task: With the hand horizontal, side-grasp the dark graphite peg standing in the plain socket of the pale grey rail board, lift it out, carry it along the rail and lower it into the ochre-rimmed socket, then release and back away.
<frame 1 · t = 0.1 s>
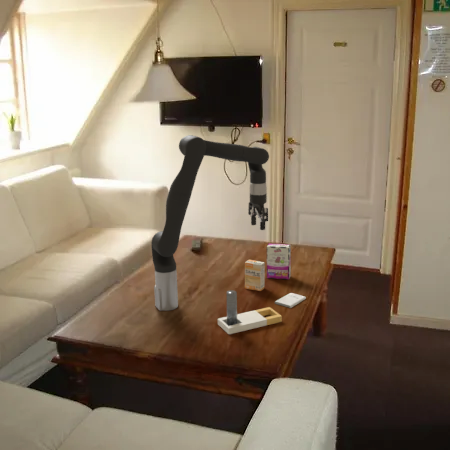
hand: (258, 227, 262), 29 cm above the table, tool pointing down, fingers open, 8 cm apart
peg: (232, 327, 232), resting in rail
external hard drive: (290, 302, 255), on the table
rail: (249, 323, 235), on the table
candy bar box: (278, 277, 283), on the table
supplement box: (254, 288, 270), on the table
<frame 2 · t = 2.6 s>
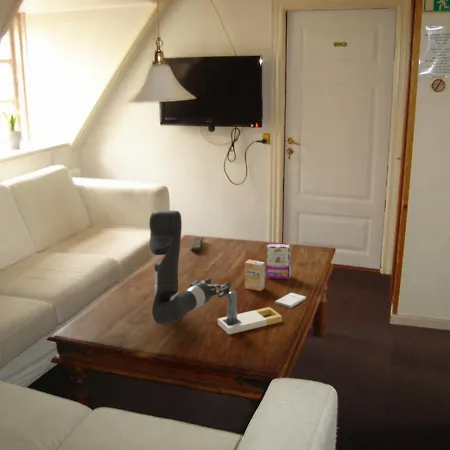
hand: (219, 282, 218), 22 cm above the table, tool horizontal, fingers open, 8 cm apart
nothing on the table moved.
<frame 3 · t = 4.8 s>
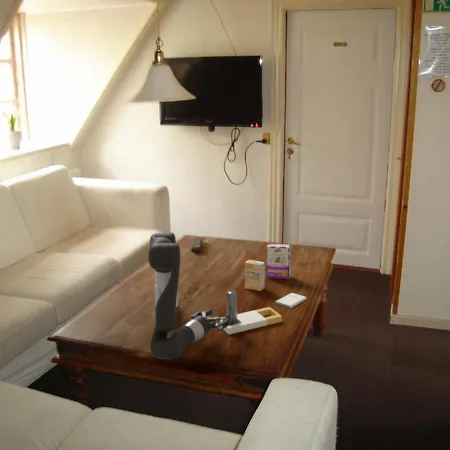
hand: (220, 313, 223), 9 cm above the table, tool horizontal, fingers open, 8 cm apart
nothing on the table moved.
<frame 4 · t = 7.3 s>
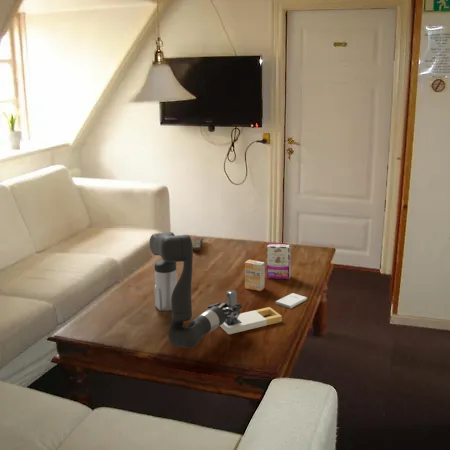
hand: (235, 303, 231), 9 cm above the table, tool horizontal, fingers closed on peg, 4 cm apart
peg: (232, 327, 232), resting in rail, touching gripper
everything else where it was.
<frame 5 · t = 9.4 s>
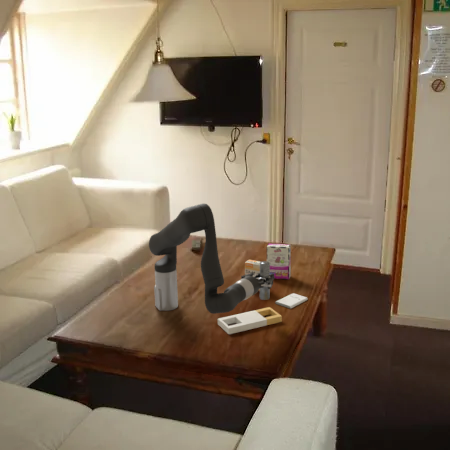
hand: (268, 274, 234), 19 cm above the table, tool horizontal, fingers closed on peg, 4 cm apart
peg: (264, 297, 234), point 10 cm above the table, touching gripper
everything else where it was.
when the fingers open (10 cm above the table, at t = 11.9 s): peg drops 1 cm, resting in rail.
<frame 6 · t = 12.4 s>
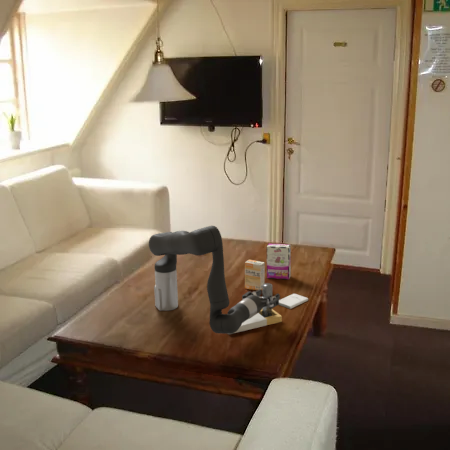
hand: (269, 293, 237), 11 cm above the table, tool horizontal, fingers open, 8 cm apart
peg: (267, 319, 238), resting in rail
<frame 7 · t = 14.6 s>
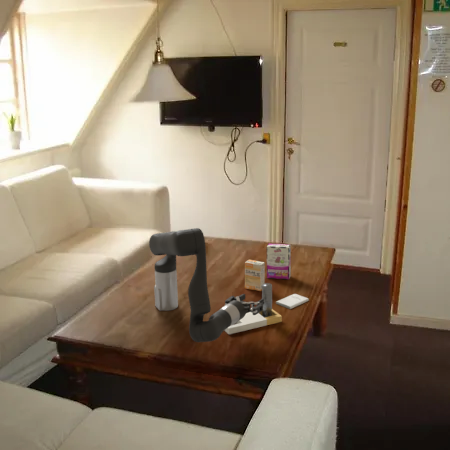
hand: (253, 298, 227), 13 cm above the table, tool horizontal, fingers open, 8 cm apart
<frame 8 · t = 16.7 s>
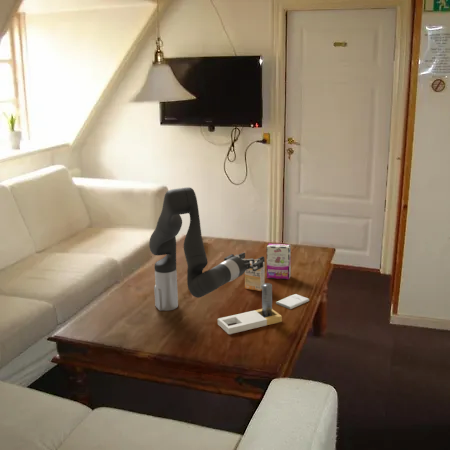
hand: (253, 256, 222), 30 cm above the table, tool horizontal, fingers open, 8 cm apart
at the end: peg 0.1 cm from the target spot on the rail, point 0.0 cm above the rail's base; peg tilted 0°; the gripper is holding nothing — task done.
